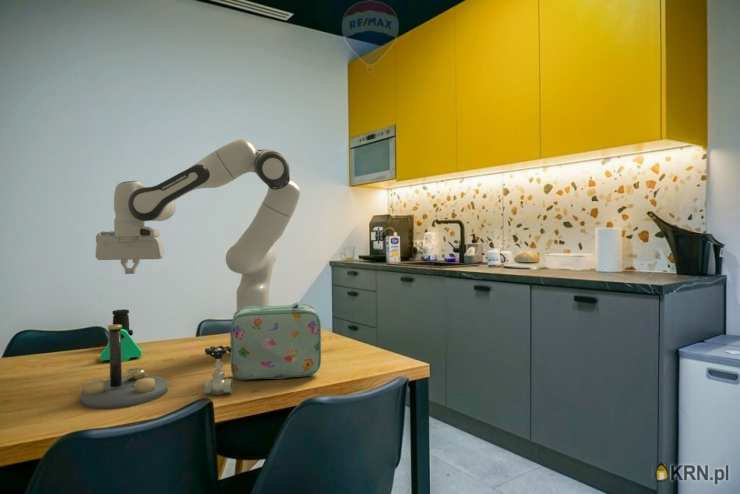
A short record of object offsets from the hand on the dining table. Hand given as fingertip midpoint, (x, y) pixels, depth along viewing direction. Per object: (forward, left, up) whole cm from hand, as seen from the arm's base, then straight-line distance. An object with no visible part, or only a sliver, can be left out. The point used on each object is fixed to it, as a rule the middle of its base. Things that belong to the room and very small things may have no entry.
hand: (130, 273), depth 155 cm
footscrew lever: (-10, +31, -27) cm, 42 cm away
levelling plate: (-11, +34, -29) cm, 46 cm away
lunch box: (-49, +22, -29) cm, 61 cm away
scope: (+12, -22, -29) cm, 39 cm away
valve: (-35, +37, -29) cm, 59 cm away
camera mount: (+5, -6, -30) cm, 31 cm away
